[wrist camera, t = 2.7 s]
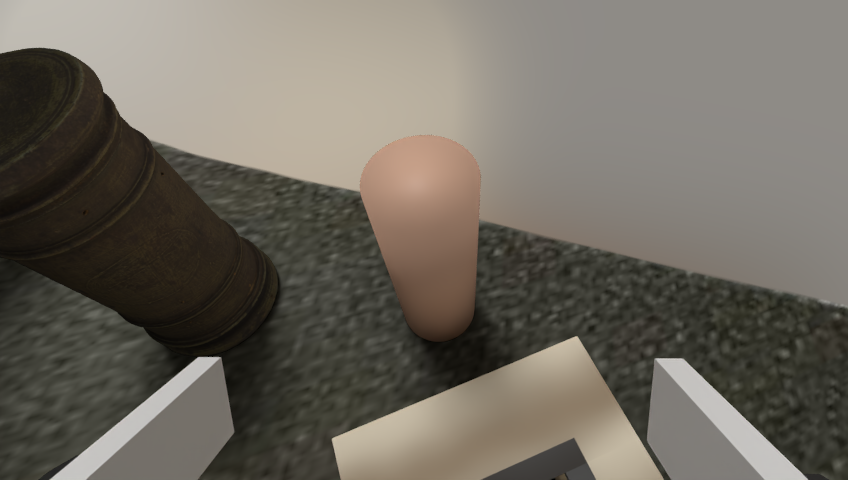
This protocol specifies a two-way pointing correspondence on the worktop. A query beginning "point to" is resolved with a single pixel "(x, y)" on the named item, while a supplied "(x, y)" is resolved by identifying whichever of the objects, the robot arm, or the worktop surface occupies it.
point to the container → (117, 213)
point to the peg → (427, 229)
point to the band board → (506, 429)
